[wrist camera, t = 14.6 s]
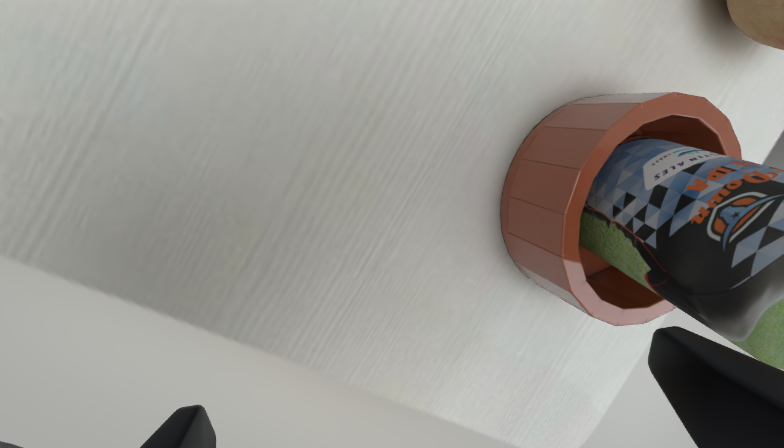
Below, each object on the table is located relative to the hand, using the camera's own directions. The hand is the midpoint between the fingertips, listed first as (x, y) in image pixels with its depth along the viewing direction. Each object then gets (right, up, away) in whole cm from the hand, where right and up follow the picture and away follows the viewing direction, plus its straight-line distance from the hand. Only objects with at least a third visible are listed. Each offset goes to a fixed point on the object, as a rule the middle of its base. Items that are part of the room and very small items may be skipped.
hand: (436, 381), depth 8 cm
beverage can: (+10, +4, +14) cm, 17 cm away
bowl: (+10, +5, +14) cm, 18 cm away
